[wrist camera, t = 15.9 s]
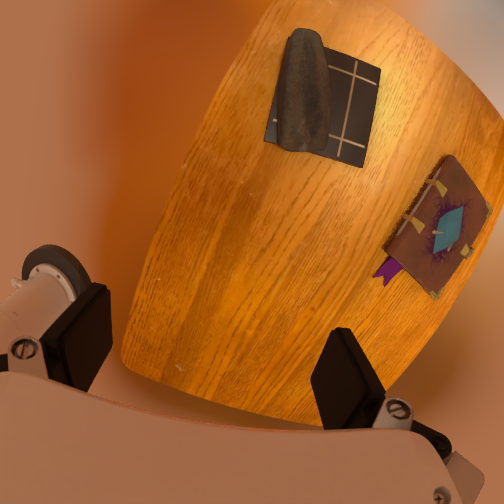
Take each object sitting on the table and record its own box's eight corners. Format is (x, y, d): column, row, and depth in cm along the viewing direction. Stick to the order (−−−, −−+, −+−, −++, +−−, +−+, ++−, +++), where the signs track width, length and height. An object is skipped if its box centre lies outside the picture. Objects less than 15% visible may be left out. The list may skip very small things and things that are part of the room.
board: (263, 141, 35) (264, 140, 33) (287, 39, 30) (288, 36, 28) (359, 167, 36) (363, 168, 35) (377, 70, 31) (381, 68, 30)
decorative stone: (323, 154, 34) (334, 154, 30) (275, 151, 34) (280, 150, 30) (324, 40, 29) (332, 29, 25) (277, 34, 28) (281, 21, 24)
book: (360, 268, 42) (372, 280, 37) (440, 151, 36) (458, 151, 31) (415, 313, 45) (428, 326, 40) (484, 211, 39) (500, 216, 34)
